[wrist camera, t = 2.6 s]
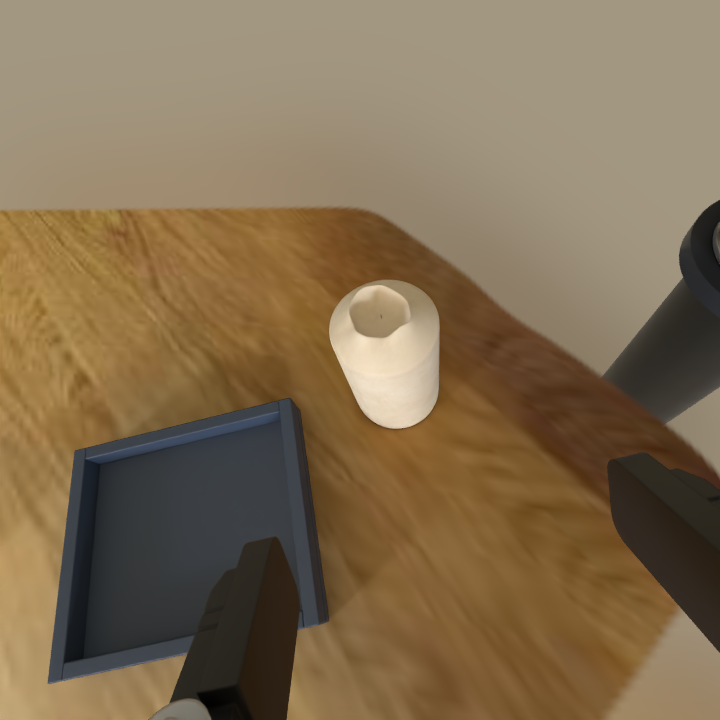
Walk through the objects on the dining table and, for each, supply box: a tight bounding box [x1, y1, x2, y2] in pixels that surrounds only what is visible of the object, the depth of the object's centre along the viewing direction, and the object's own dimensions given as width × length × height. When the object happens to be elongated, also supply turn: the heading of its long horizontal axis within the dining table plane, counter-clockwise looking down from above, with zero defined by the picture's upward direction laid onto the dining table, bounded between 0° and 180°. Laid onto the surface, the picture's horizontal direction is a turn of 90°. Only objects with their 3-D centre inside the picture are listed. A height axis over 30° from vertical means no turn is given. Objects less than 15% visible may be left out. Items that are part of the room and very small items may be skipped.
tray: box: [48, 398, 329, 684], centre depth 26 cm, size 15×13×2 cm
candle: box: [329, 280, 439, 428], centre depth 25 cm, size 6×6×10 cm
